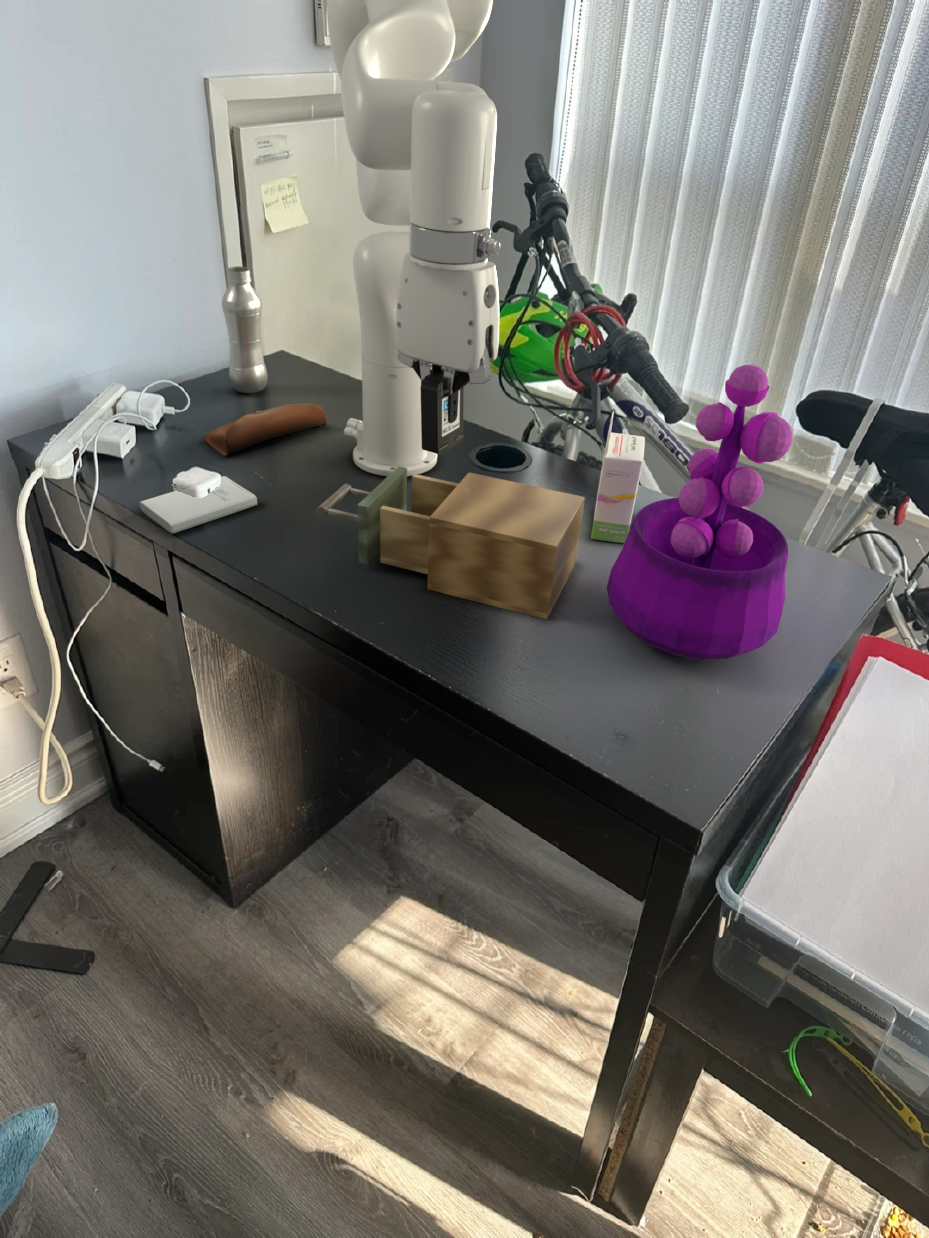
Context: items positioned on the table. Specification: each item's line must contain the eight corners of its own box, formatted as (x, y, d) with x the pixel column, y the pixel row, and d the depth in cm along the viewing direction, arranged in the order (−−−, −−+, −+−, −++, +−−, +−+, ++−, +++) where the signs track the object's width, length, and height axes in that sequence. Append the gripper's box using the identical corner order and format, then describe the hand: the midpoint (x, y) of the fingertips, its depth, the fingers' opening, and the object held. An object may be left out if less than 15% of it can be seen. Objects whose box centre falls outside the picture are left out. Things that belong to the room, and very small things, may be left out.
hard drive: (140, 511, 109) (224, 484, 117) (172, 536, 105) (257, 506, 112) (138, 500, 108) (223, 474, 116) (170, 524, 104) (256, 495, 111)
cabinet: (427, 589, 98) (429, 517, 92) (464, 540, 108) (468, 472, 102) (546, 620, 94) (556, 546, 89) (574, 566, 104) (585, 496, 98)
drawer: (309, 550, 102) (305, 492, 97) (351, 510, 111) (350, 455, 106) (464, 589, 97) (468, 530, 92) (495, 544, 106) (500, 488, 101)
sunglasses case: (296, 409, 138) (306, 382, 133) (319, 442, 137) (331, 415, 132) (198, 437, 128) (205, 408, 122) (223, 472, 126) (231, 444, 121)
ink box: (628, 545, 109) (648, 439, 100) (589, 540, 110) (607, 433, 101) (630, 515, 116) (650, 413, 107) (594, 510, 116) (611, 408, 108)
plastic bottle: (224, 395, 143) (210, 272, 132) (239, 382, 149) (227, 262, 137) (260, 399, 143) (249, 276, 131) (274, 386, 148) (265, 266, 137)
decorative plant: (766, 598, 100) (845, 348, 83) (777, 696, 85) (876, 416, 68) (608, 572, 103) (653, 325, 86) (593, 662, 88) (643, 386, 71)
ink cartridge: (438, 456, 89) (438, 383, 85) (421, 451, 90) (420, 378, 86) (464, 441, 93) (465, 369, 88) (446, 436, 94) (447, 365, 89)
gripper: (536, 251, 80) (518, 432, 90) (405, 225, 85) (402, 398, 96) (499, 266, 74) (484, 456, 85) (361, 238, 80) (364, 419, 91)
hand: (441, 425), depth 91 cm, fingers closed
